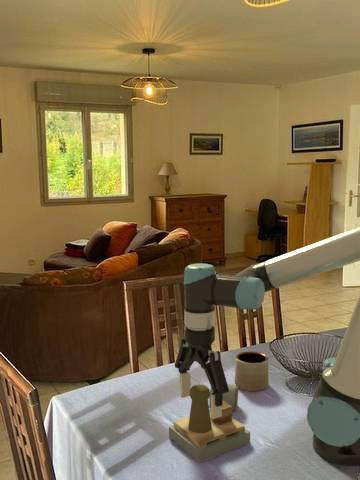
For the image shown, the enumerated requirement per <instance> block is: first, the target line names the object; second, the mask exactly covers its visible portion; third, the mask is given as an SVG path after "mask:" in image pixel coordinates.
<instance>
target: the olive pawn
mask: <svg viewBox="0 0 360 480" xmlns="http://www.w3.org/2000/svg"><path fill="white" fill-rule="evenodd" d="M190 399H191V404H190V412H189V416H190V418H189V425H188V428H189V430H190V431H192V432H194V433H206V432H208V431H210V430H211V428H212V426H211V419H210V411H209V410H210V407H209V400H210V388H209V387H208V386H207V385H205V384H195V385H193V386H191V389H190Z"/></svg>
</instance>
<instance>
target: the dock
mask: <svg viewBox="0 0 360 480" xmlns="http://www.w3.org/2000/svg"><path fill="white" fill-rule="evenodd" d="M168 438H169V439H171V440H172V441H173V443H175V444H176V445H178V446H179V447H180V448H181V449H182V450H184V451H185V452H186V453H187V454H188V455H189V456H190V457H192V459H194V460H196V462H197V463H199V464H200V463H202V462H205V461H208V460H211V459H213V458H215V457H219V456H220V455H223V454H225V453H227V452H231V451H232V450H236V449H238V448H241V447H243V446H246V445H248V444H251V431H249V430H247V429H246V428H245V432H242V433H239V434H238V433H237V432H234V433H232V434H229V435H226V439H223V440H221V441H220V440H218V439H215V440H213V441H210V442H207V446H205V447H202V448H199V447H198V446H197V445H196V444H195V443H193V442H192V441H191V440H190V439H188V438H187V437H186V436H185V435H183V434H182V433H181V432H180V431H178V430H177V429H176V428H175V427H174V424H172V425H170V426H168Z"/></svg>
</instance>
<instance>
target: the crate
mask: <svg viewBox="0 0 360 480" xmlns="http://www.w3.org/2000/svg"><path fill="white" fill-rule="evenodd" d="M222 402H223V404H222V416H221V417H218V418H215V419H212V418H211V419H212V420H214V421H215V422H216V423H218V424H219V425H221V424H224V423H227V422H230V421H232V418H233V410H232V406H231V405H229V404H228V403H226V402H224V401H222Z"/></svg>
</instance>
